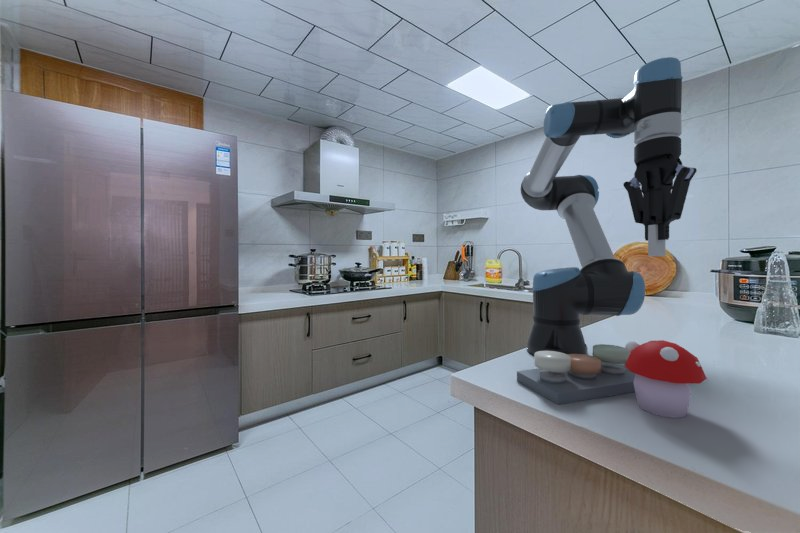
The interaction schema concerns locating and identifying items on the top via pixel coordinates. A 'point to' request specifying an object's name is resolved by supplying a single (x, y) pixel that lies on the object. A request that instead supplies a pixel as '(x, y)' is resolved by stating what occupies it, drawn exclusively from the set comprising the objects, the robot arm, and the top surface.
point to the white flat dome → (552, 361)
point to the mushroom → (663, 376)
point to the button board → (579, 383)
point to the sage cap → (611, 353)
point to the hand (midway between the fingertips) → (656, 256)
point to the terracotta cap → (585, 364)
